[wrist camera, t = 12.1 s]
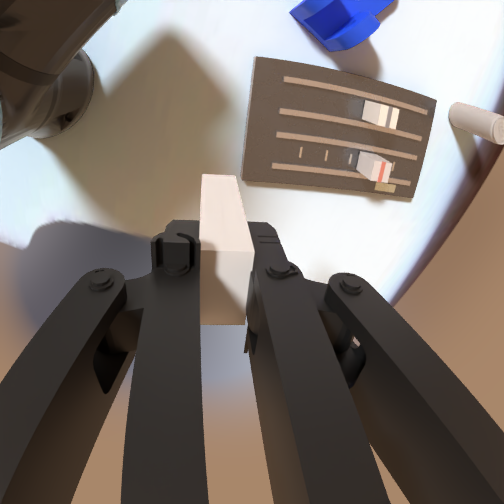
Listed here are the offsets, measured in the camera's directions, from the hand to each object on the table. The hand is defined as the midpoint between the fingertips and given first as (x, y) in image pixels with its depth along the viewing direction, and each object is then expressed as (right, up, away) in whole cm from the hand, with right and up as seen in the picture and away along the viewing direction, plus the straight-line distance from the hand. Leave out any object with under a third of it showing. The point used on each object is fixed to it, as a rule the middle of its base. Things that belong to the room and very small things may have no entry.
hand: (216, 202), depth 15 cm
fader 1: (+19, +18, +27) cm, 38 cm away
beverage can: (+38, +23, +30) cm, 54 cm away
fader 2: (+19, +12, +31) cm, 39 cm away
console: (+16, +16, +31) cm, 38 cm away
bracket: (+16, +35, +20) cm, 43 cm away
